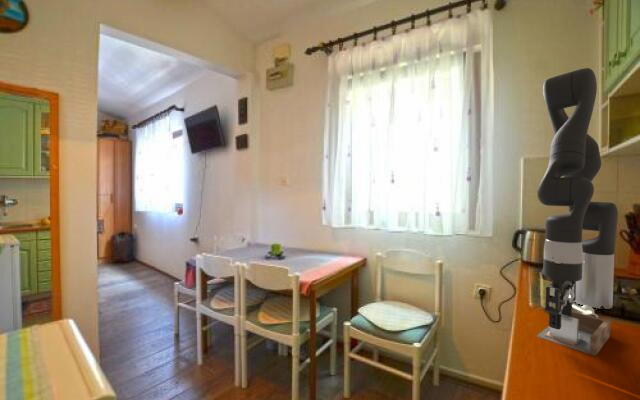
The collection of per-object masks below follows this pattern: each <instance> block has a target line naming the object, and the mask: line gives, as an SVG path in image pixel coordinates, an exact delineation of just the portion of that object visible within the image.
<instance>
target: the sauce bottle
mask: <svg viewBox="0 0 640 400" xmlns="http://www.w3.org/2000/svg"><path fill="white" fill-rule="evenodd" d="M550 284H552V279H551V278H549V277H547V276H545V275H544V274H543V268H542V269H541V271H540V306H541V307H540V308H541V310H542V311H544V312H546V313H549V312H548V311H546V310H545V305H546V287H547V286H550ZM555 307H556V304H553V308H555Z"/></svg>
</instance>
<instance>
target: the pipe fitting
mask: <svg viewBox="0 0 640 400" xmlns="http://www.w3.org/2000/svg"><path fill="white" fill-rule="evenodd" d="M572 311H573V312H577V313H581V314H585V315H589V316H593V317H597V318H599V315H598V314H596V313H595V309H593V308H592V307H590V306H588V305H583V306H581V305H578V304H577V303H575V302H574V304H573V305H572Z"/></svg>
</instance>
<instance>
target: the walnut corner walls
mask: <svg viewBox="0 0 640 400" xmlns="http://www.w3.org/2000/svg"><path fill="white" fill-rule="evenodd" d="M555 308H556V307H555ZM572 317H573V318H576V319H579V329H581V330H584V331H588V332H591V333H593V334H592V336H591V337H590V354H589V355H592V356H595V357H596V356H597V355H598V354H599V352H600V351H601V350H602V348H603V347H604V345H605V344H606V343H607V341H608V340H609V338H611V323H612V321H611V320H607V319H603V318H599V317H598V318H597V317H593V316H589V315H585V314H581V313H577V312H573V311H572Z"/></svg>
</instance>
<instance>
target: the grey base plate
mask: <svg viewBox="0 0 640 400" xmlns="http://www.w3.org/2000/svg"><path fill="white" fill-rule="evenodd" d="M578 334H581V335H583V339H582V340H581V341H580V342H579V343H578V344H577V345H576V344H573V343H570V342H567V341H564V340H561V339H558V338H555V337H553V336H550V326H549V325H548V326H547V327H546V328H544V329H543V330H542V331H541V332H540V333H538V334H537V335H536V337H538V338H540V339H544V340H547V341H550V342H553V343H556V344H559V345H561V346H565V347H568V348H571V349H573V350H576V351H580V352H583V353H585V354H589V355H591V354H590V337H591V336H592V334H593V333H591V332H588V331H584V330H581V329H579V331H578Z"/></svg>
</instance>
